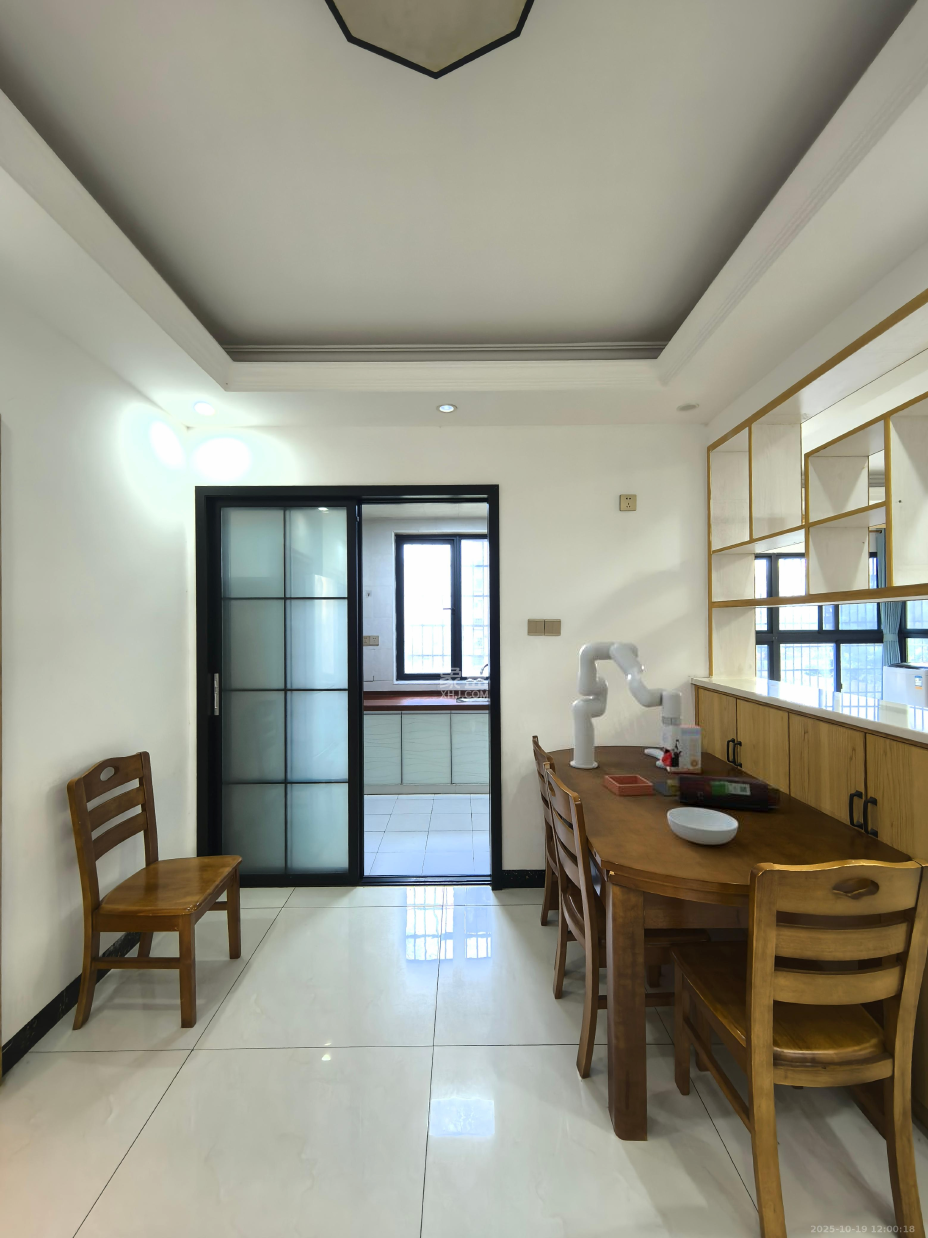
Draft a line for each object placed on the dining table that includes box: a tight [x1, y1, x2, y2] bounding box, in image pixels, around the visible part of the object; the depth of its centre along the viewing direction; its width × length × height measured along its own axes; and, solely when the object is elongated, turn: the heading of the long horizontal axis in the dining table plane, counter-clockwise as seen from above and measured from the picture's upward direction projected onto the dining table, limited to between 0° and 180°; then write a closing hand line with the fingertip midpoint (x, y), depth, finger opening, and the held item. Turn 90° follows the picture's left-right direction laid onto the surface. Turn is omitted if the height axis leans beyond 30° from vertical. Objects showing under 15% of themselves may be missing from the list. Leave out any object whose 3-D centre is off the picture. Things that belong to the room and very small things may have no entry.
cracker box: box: [666, 724, 702, 774], centre depth 270 cm, size 14×6×21 cm, turn 84°
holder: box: [644, 748, 667, 770], centre depth 290 cm, size 19×34×5 cm, turn 175°
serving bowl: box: [666, 806, 739, 846], centre depth 187 cm, size 21×21×7 cm
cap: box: [661, 752, 682, 767], centre depth 242 cm, size 8×6×6 cm
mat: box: [649, 781, 677, 797], centre depth 242 cm, size 18×14×1 cm
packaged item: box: [666, 773, 781, 813], centre depth 222 cm, size 39×10×10 cm, turn 76°
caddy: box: [603, 774, 654, 797], centre depth 241 cm, size 15×15×4 cm
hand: (671, 764), depth 242 cm, fingers closed on cap, 5 cm apart
